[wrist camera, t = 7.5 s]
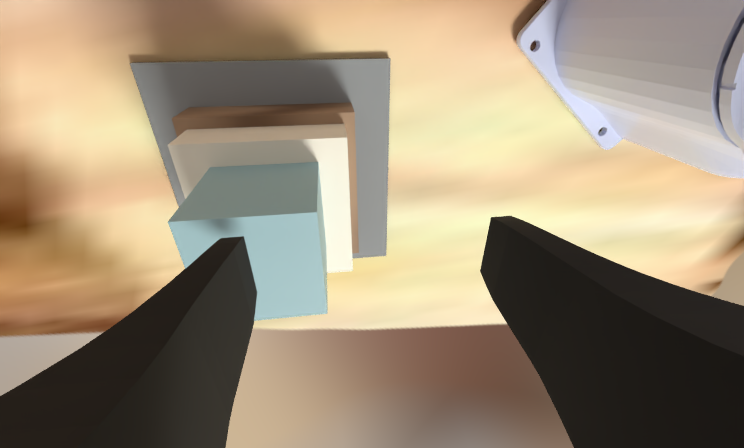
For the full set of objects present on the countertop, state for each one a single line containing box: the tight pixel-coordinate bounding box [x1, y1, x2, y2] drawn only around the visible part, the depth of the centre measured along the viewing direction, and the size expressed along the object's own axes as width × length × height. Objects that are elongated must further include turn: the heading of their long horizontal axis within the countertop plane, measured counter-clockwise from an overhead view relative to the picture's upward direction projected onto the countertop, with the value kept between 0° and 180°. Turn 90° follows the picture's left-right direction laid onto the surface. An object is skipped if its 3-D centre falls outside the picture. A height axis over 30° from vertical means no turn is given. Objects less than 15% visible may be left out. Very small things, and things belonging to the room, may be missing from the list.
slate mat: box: [130, 58, 390, 258], centre depth 19 cm, size 12×12×1 cm
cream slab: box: [168, 124, 353, 273], centre depth 16 cm, size 7×7×2 cm
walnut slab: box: [172, 102, 359, 254], centre depth 18 cm, size 8×8×2 cm
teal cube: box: [168, 162, 327, 321], centre depth 13 cm, size 4×4×4 cm
